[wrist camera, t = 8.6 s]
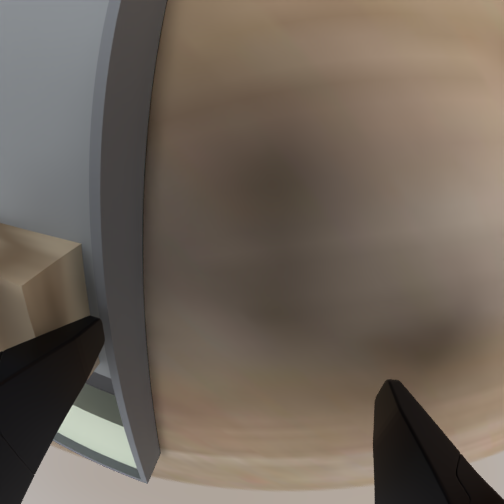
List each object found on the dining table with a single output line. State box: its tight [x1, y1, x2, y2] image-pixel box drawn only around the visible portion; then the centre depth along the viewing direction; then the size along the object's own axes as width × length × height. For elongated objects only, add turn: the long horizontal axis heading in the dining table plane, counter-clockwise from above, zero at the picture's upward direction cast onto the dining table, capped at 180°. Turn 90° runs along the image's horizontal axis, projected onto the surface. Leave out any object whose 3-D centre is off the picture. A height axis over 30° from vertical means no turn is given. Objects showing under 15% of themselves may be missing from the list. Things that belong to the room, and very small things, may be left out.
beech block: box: [0, 223, 100, 380], centre depth 9 cm, size 6×6×3 cm
